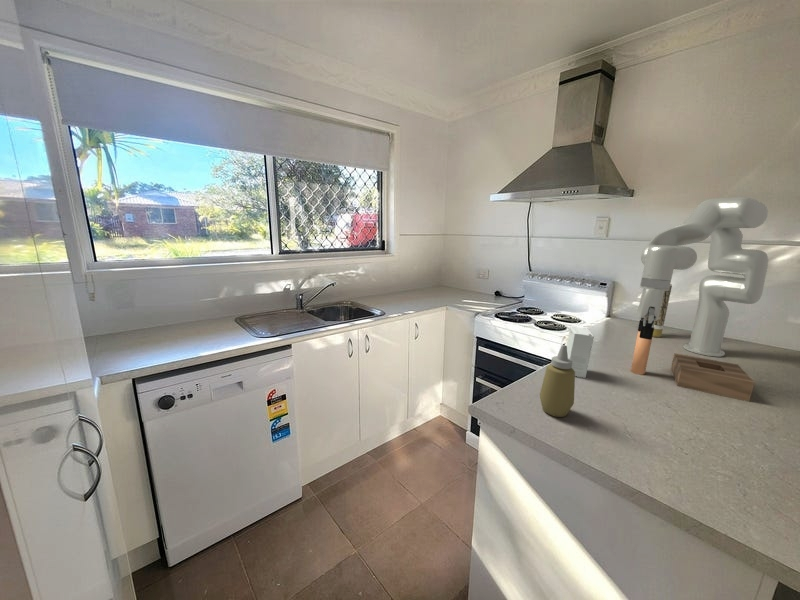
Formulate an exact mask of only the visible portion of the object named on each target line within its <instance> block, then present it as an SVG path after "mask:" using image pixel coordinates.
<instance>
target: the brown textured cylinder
mask: <svg viewBox="0 0 800 600" xmlns="http://www.w3.org/2000/svg"><path fill="white" fill-rule="evenodd" d="M672 286H673V284H672V283H670V288H669V291H664V294H663V299H662V303H661V308H660V312H659V315H658V319H657V320H656V321H655V322H654V331H653V337H652V338H661V337H662V334H663V329H664V327H665V321H666V315H667V311H668V306H669V302H670V296H671V292H672V288H673V287H672Z"/></svg>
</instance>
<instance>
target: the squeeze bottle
mask: <svg viewBox="0 0 800 600" xmlns="http://www.w3.org/2000/svg"><path fill="white" fill-rule="evenodd" d="M575 383H576V376H575V371H574V370H573V369H572V360H570V359H568V354H567V344H566V345H565V344H562V345H561V346H560V348H559V351H558V353H557V355H555V356H553V357H552V358H551V362H550V364H548V365H547V366H546V367H545V372H544V376H543V379H542V383H541V387H540V392H539V399H540V403H541V408H542V410H543V412H544V413H546V414H547V415H551V416H553V417H557V418H562V417H566V416H567V415H568V414H569V412H570V411H571V408H572V407H573V405H574V404H575V386H576V385H575Z"/></svg>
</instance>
